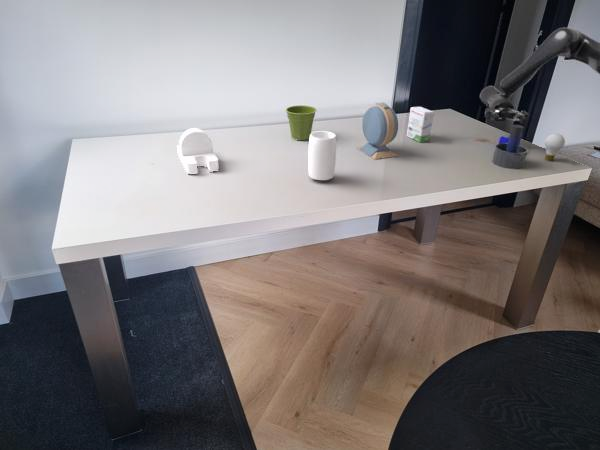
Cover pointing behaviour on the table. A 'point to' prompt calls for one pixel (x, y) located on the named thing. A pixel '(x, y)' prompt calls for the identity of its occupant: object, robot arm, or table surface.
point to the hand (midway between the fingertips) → (510, 120)
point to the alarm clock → (379, 131)
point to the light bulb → (553, 145)
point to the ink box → (420, 124)
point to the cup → (322, 155)
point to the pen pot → (509, 157)
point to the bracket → (196, 151)
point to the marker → (514, 138)
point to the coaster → (482, 140)
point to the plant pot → (301, 121)
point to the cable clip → (507, 139)
